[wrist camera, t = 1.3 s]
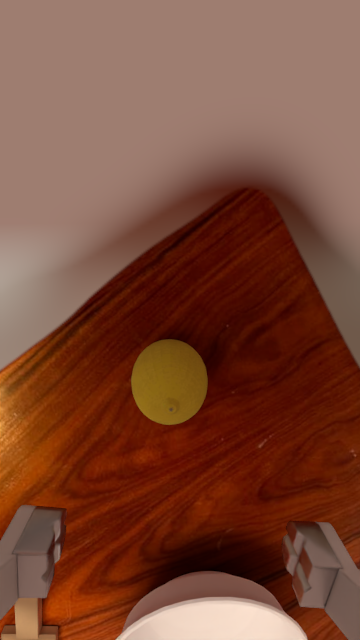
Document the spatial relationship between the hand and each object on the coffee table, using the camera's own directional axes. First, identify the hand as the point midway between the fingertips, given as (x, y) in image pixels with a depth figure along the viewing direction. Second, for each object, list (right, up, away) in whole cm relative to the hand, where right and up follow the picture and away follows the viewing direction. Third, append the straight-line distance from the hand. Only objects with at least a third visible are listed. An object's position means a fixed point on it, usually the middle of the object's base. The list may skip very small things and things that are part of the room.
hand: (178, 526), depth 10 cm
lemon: (-1, +4, +15) cm, 15 cm away
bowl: (+2, -24, +23) cm, 33 cm away
